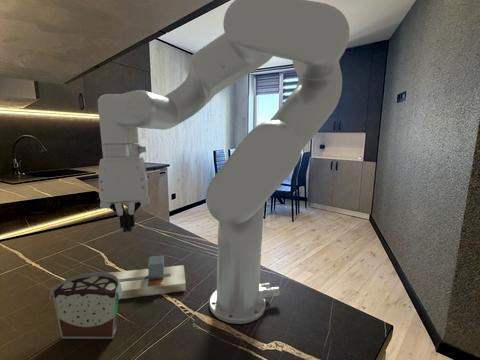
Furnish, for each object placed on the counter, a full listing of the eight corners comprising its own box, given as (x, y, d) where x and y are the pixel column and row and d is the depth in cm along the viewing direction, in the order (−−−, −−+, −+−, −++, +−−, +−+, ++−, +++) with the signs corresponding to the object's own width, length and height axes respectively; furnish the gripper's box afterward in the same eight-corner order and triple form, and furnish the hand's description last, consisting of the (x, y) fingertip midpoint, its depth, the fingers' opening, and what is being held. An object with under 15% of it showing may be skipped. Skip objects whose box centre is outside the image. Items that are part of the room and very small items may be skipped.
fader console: (183, 271, 70) (183, 264, 70) (185, 290, 62) (185, 282, 61) (95, 281, 64) (95, 273, 64) (84, 303, 56) (83, 294, 56)
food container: (134, 315, 53) (132, 271, 51) (121, 338, 47) (119, 289, 45) (73, 315, 52) (70, 270, 51) (53, 338, 46) (48, 288, 45)
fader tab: (164, 269, 66) (163, 255, 66) (163, 278, 62) (163, 263, 62) (149, 271, 65) (149, 256, 65) (148, 280, 61) (148, 265, 61)
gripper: (157, 150, 62) (161, 222, 65) (89, 152, 59) (97, 228, 61) (155, 152, 55) (160, 232, 58) (78, 154, 51) (88, 239, 54)
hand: (128, 229), depth 60 cm, fingers closed
